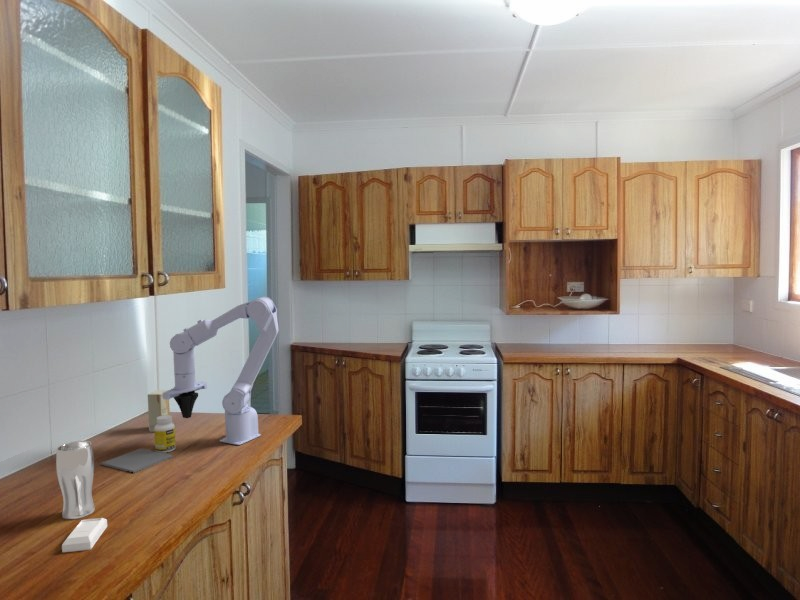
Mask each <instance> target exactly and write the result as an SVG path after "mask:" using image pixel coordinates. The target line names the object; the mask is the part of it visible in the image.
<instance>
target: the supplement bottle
mask: <svg viewBox="0 0 800 600" xmlns="http://www.w3.org/2000/svg"><path fill="white" fill-rule="evenodd" d="M172 418H173V417H172V415H171V414H170V415H163V416H159V417H157V423H158V424H157V425H156V426H155V427H154V432H153V433H154V451H156V452H161V453H165V454H168V453H170V452H173V451H174V450H175V449H176V427H175V426H176V425H175V423H173V419H172ZM167 452H168V453H167Z"/></svg>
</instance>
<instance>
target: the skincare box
mask: <svg viewBox="0 0 800 600" xmlns="http://www.w3.org/2000/svg"><path fill="white" fill-rule="evenodd" d="M168 390H169V389H165V390H164V389H156V390H154V391H152V392H150V393H148V394H147V406H148V407H147V409H148V410H147V411H148V431H149V432H151V433H154V427H155V426H156V425H157V424H158V423H157V417H159V416H163V415H171V412H170V411H171V410H170V409H171V408H170V399H168V400H166V399H163V392H166V391H168Z"/></svg>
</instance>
